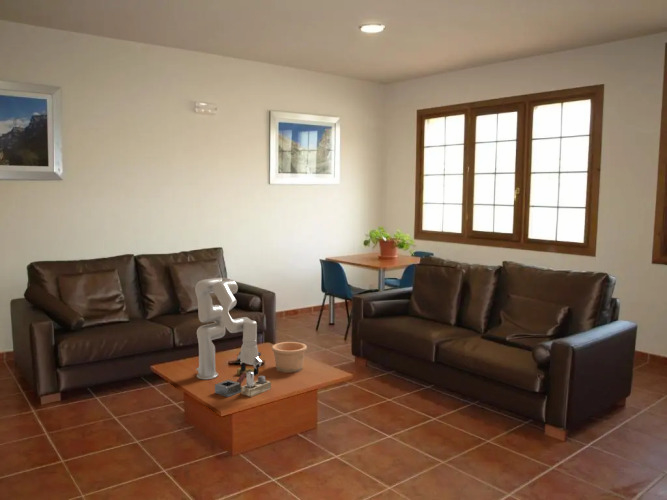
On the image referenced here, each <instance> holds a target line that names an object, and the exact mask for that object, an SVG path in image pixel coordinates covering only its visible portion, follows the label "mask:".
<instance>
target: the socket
mask: <svg viewBox="0 0 667 500" xmlns="http://www.w3.org/2000/svg"><path fill="white" fill-rule="evenodd" d="M241 384H242V382H241V383H238V382H237V381H234V380H230V379H227V380H223V381H221V382H217V383H216V384H214V394H215V395H219V396H221V397H226V398H229V397H232V396H235V395H237V394H239V393H240V394H241V387H242V385H241Z"/></svg>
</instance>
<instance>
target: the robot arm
mask: <svg viewBox="0 0 667 500" xmlns="http://www.w3.org/2000/svg"><path fill="white" fill-rule="evenodd" d="M194 289H195V291H194V292H195V296H196V299H197V310H198V311H197V312H198V321H199V322H201V323H203V324H204V325H201V326H199V327H198V328H196V329H197V330H196V335H197V337H196V338H197V342H198V365H199V366H198V367H197V368H195V371H197V372H198V373H197V374H196V379H199V380H212V379H215V378H217V377H218V376H219V373H218V372H217V371H216V346H215V344H214V343H213V341H214V340H216V339H221V338H223V337H224V336H225V335H226V330H227V331H228V332H229V333H231V334H236V333H241V332H242V344H241V348H240V351H241V353H240V352H239V353H240V355H239V354H238V355H237V357H238V358H239V361H238V362H240V364H239V365H240V368H241V372H242V371H245V370H246V369H247V368H246V367H247V366H246V365H250V366H253V368H254V377H255V376H257V375H258V376H259V368H260V367H261V365H262V363H263V361H262V360H261V359H260V358H259V356H258V352H259V348H258V347H259V346H258V340H257V339H258V337H257V336H258V333H257V332H258V324H257V321H255V320H252V319H250V318H249V317H247V316H243V317H238V318H232V316H231V315H230V313H229V311H231V310H232V309H233V308H234V307H236V305H237V302H238V301H237V299H236V297H235V296H234V294H237V292H238V290H239V285H238V284H237V282H236V281H235V280H233V279H230V278H226V277H215V278H207V279H206V278H205V279H202V280H199V281H198V282H197V283H196V284H195V288H194ZM210 294H215V296H216V298H217V300H218V301H219V304H215V305H214V304H213V299H212V296H211V295H210ZM211 322H214V323H211ZM206 323H208V324H206ZM257 346H258V347H257Z"/></svg>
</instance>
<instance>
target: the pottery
mask: <svg viewBox="0 0 667 500" xmlns="http://www.w3.org/2000/svg"><path fill="white" fill-rule="evenodd" d="M307 349H308V347H307V344H305V343H302V342H298V341H297V342H296V341H282V342H278V343H275V344H272V346H271V350H272V351H273V354H274V355H273V356H274V362H275V369H276V371H277V372H280V373H285V374H286V373H287V374H289V373H291V374H292V373H298V372H300V371H302V370H303V366H304V361H305V353H306V351H307Z"/></svg>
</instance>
